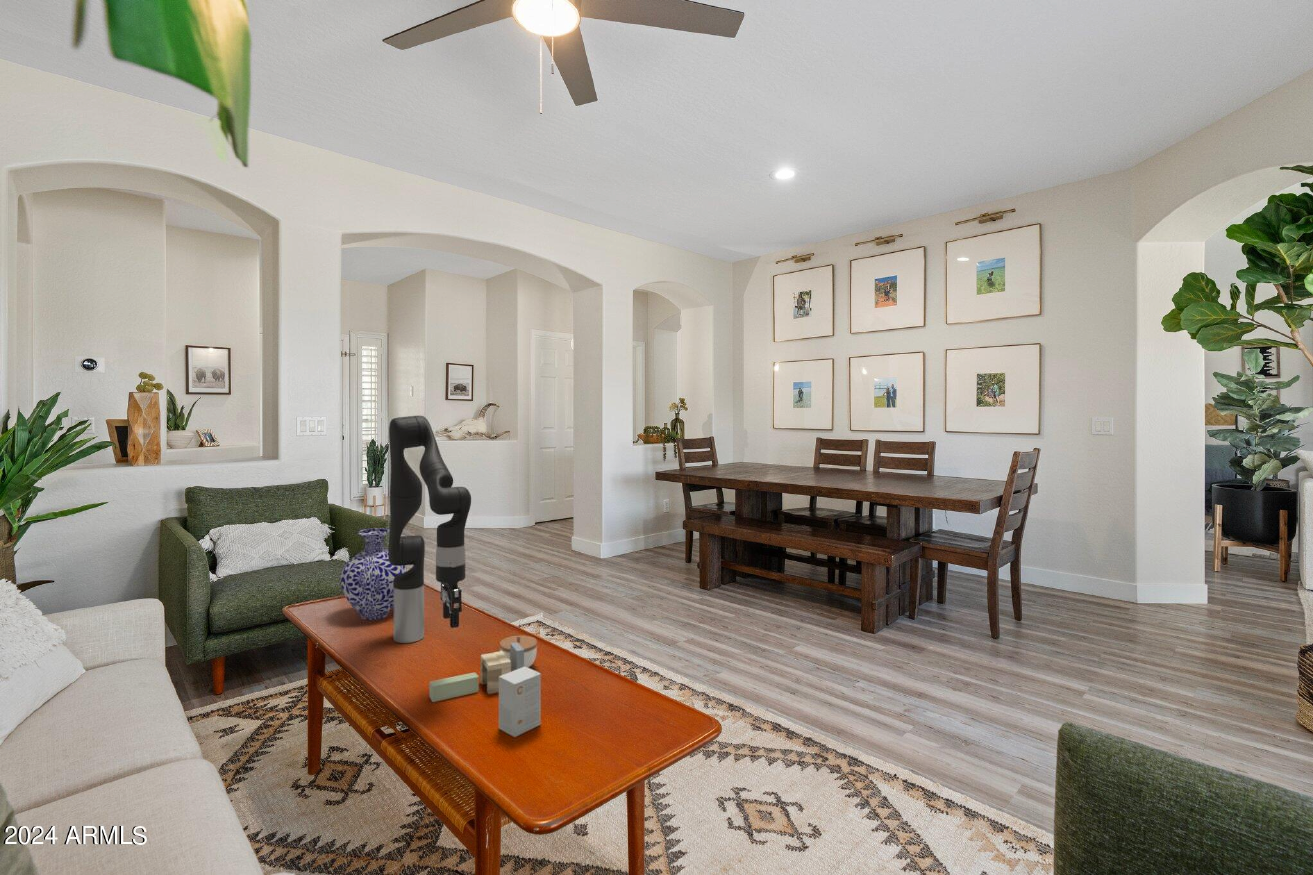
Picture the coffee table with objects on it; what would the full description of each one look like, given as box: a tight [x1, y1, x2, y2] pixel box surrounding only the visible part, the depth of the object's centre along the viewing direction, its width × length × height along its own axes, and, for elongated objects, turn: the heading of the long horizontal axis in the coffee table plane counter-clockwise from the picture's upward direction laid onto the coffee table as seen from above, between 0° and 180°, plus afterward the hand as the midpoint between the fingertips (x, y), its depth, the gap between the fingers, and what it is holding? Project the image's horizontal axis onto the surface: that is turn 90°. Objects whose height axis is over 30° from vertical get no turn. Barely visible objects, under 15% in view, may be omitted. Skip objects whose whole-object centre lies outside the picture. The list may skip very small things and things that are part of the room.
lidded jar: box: [499, 635, 538, 668], centre depth 192 cm, size 11×11×9 cm
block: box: [480, 650, 511, 695], centre depth 180 cm, size 8×6×8 cm
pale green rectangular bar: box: [429, 672, 480, 703], centre depth 175 cm, size 3×12×4 cm, turn 122°
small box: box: [498, 667, 542, 738], centre depth 159 cm, size 8×6×13 cm
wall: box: [510, 642, 524, 672], centre depth 183 cm, size 6×2×10 cm, turn 30°
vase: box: [340, 527, 408, 621], centre depth 232 cm, size 22×22×30 cm
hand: (450, 622), depth 176 cm, fingers open, 8 cm apart
